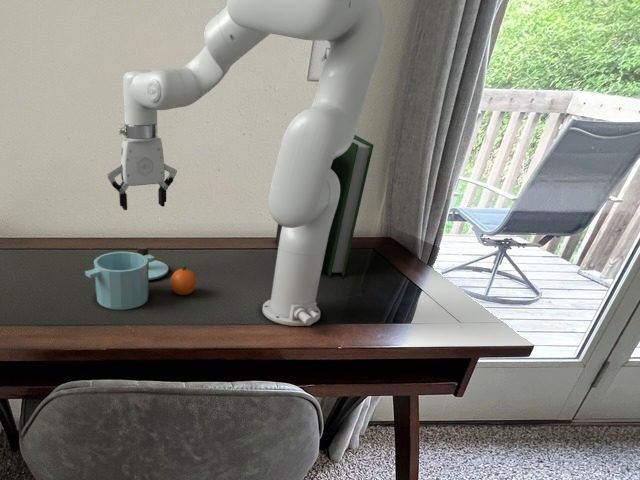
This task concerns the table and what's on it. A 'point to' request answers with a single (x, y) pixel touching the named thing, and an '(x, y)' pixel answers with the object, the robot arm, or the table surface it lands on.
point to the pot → (121, 279)
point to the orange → (183, 281)
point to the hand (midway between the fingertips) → (143, 207)
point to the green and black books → (345, 203)
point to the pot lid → (153, 264)
